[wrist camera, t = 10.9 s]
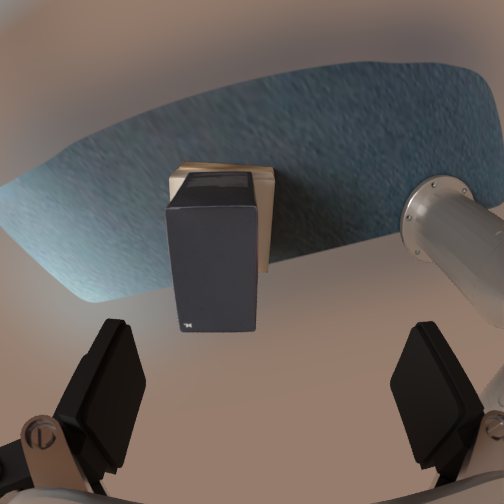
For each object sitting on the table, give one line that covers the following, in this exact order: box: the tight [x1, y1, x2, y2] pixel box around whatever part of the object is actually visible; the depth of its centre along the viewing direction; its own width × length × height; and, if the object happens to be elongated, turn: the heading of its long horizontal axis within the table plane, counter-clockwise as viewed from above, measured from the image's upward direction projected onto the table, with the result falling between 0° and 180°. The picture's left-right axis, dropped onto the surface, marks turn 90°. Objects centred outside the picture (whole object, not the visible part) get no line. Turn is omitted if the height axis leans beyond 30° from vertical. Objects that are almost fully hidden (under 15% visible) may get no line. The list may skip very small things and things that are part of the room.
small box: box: [164, 171, 259, 333], centre depth 27 cm, size 11×6×10 cm, turn 0°
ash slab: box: [169, 169, 275, 272], centre depth 33 cm, size 10×10×4 cm
